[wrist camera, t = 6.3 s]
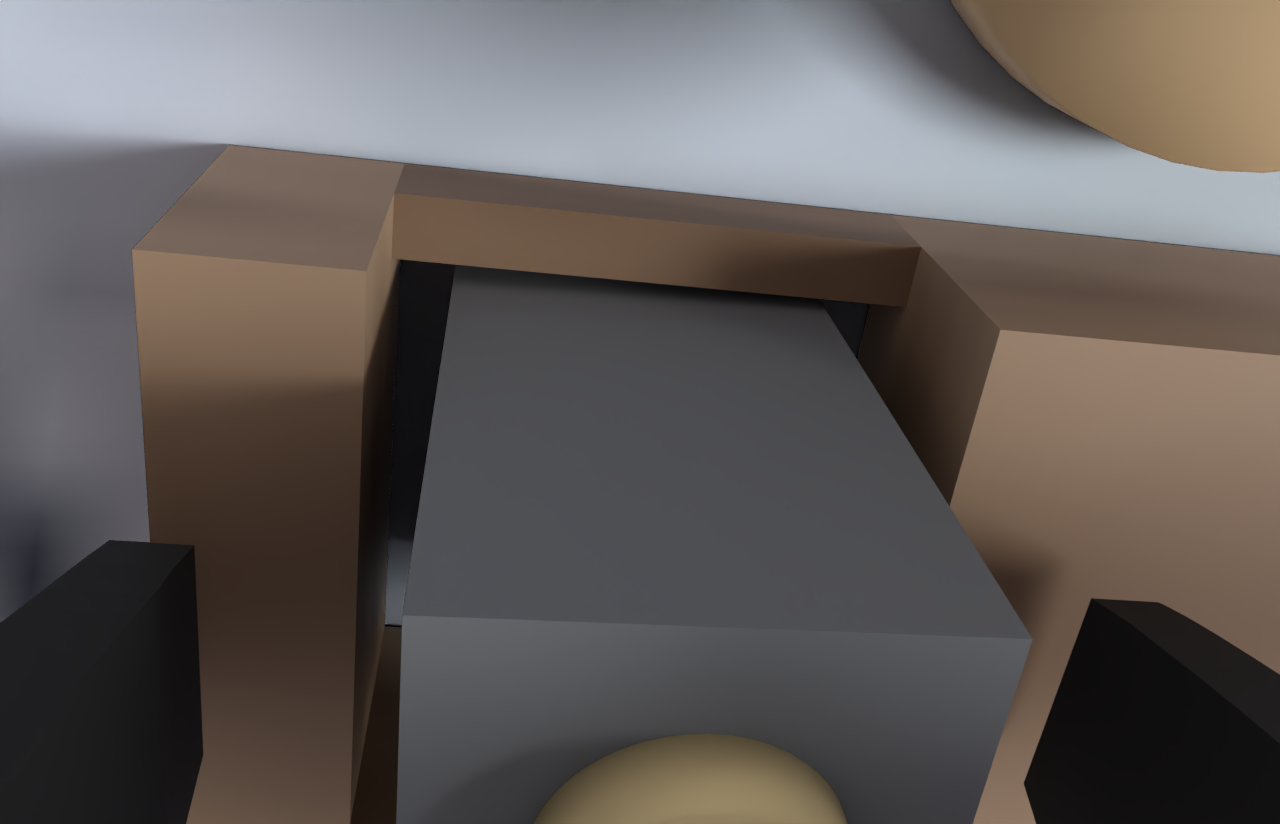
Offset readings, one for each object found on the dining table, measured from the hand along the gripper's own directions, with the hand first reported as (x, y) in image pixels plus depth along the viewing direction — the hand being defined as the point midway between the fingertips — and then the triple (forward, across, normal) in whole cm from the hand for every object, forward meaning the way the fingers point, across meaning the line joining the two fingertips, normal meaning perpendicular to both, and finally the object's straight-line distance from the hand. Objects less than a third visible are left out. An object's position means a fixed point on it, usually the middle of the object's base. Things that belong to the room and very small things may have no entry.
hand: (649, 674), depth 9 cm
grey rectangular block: (+4, 0, 0) cm, 4 cm away
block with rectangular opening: (+4, -2, 0) cm, 4 cm away
